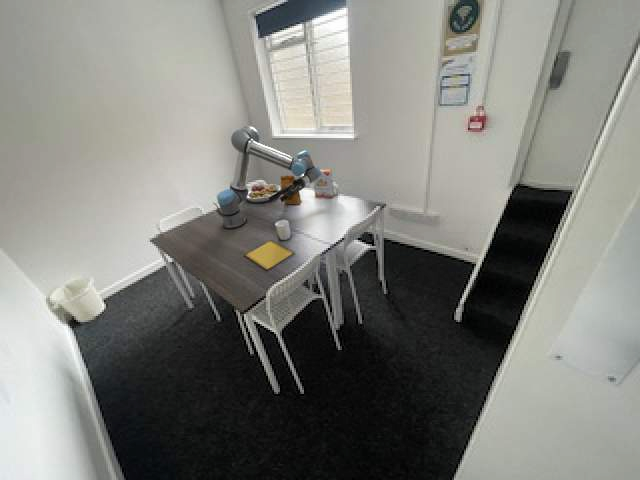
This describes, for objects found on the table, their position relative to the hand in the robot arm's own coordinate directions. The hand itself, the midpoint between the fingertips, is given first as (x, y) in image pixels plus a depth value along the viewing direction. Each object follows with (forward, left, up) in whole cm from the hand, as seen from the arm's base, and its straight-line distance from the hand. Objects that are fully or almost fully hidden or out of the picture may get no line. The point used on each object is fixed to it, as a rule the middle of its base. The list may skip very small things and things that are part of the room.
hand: (275, 199), depth 154 cm
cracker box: (-15, +54, -22) cm, 60 cm away
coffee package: (-29, +33, -22) cm, 49 cm away
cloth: (+14, -20, -22) cm, 33 cm away
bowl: (-64, +28, -22) cm, 73 cm away
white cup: (+7, -3, -22) cm, 24 cm away
